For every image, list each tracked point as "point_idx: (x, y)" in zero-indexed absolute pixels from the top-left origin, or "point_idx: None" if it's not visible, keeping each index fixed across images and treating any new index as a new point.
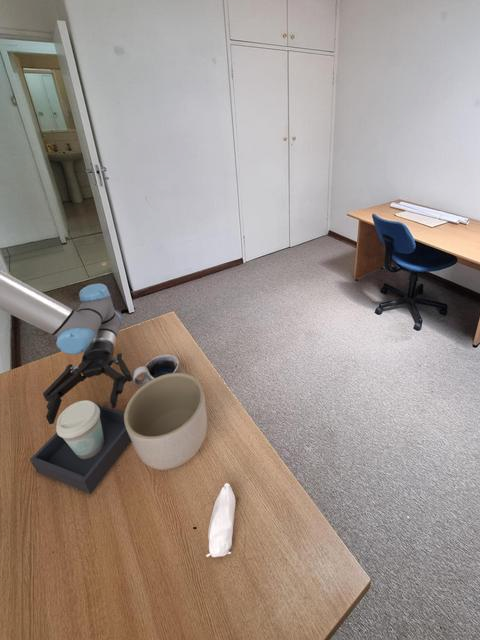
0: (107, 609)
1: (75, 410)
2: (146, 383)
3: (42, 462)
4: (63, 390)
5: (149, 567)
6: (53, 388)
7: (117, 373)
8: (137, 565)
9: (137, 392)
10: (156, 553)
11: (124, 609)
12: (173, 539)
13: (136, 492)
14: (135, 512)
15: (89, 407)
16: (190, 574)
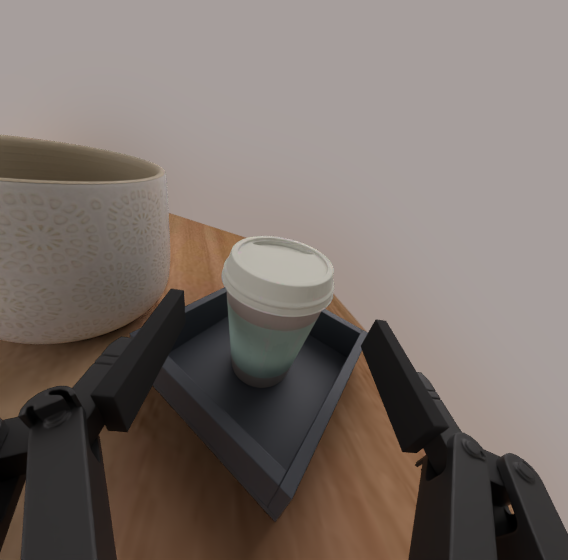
0: (233, 238)
1: (291, 270)
2: (7, 178)
3: (339, 319)
4: (436, 492)
5: (198, 239)
6: (520, 519)
7: (42, 482)
8: (207, 243)
9: (77, 181)
10: (190, 241)
11: (221, 234)
12: (171, 241)
13: (192, 278)
14: (199, 265)
15: (249, 261)
16: (169, 227)
